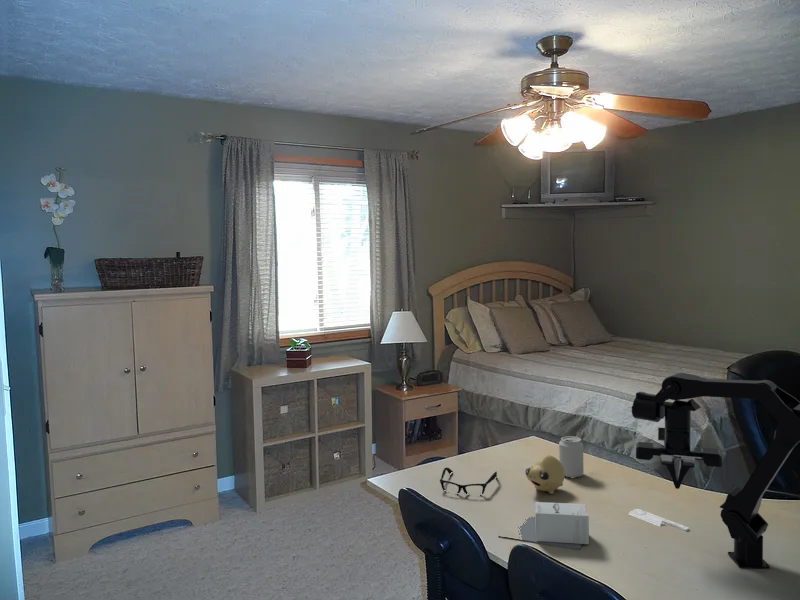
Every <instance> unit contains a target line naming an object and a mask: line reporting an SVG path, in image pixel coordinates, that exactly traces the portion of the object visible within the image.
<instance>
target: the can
mask: <svg viewBox="0 0 800 600" xmlns="http://www.w3.org/2000/svg"><path fill="white" fill-rule="evenodd" d="M558 460H559V461H560V462H561V464H562V465H563V467H564V471H565V476H566V477H565V478H567V477H579V478H581V477H582V476H583V475H584V473H585V472H584V470H585V469H584V443H583V442H582V439H581V438H580V437H578V436H572V435H570V436H569V435H568V436H562V437H560V441H559V443H558ZM580 476H581V477H580Z"/></svg>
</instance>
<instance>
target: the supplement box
mask: <svg viewBox="0 0 800 600" xmlns="http://www.w3.org/2000/svg"><path fill="white" fill-rule="evenodd" d="M534 509H535V513H534V515H535V516H534V517H535V521H536V540H537V541H543V542H559V543H574V544H582V545H589V543H590V537H589V536H590V526H589V525H590V521H589V520H590V519H589V514H588V510H587V505H586V504H585V503H583V504H582V503H567V502H566V503H565V502H542V501H535V508H534Z"/></svg>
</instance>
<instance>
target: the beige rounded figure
mask: <svg viewBox="0 0 800 600" xmlns="http://www.w3.org/2000/svg"><path fill="white" fill-rule="evenodd" d="M525 476H526V478H527V480H528V481H530V482H531V483H532V485H533V486H534V488H535V490H539V491H542V492H548V493H549V495H553V494H554V493H555V491H556V490H557V489H558V488H560V487H562V486H563V485H564V480H565V478H566V477H565V471H564V467H563V465H562V464H561V462H560V461H559V458H557V457H555V456H553V455H548V454H547V455H545V456H543V457H542V458H541V459H540V460H537V462H536V463H535V464H534V465H532V466H531V467H528V468H526V469H525Z"/></svg>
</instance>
